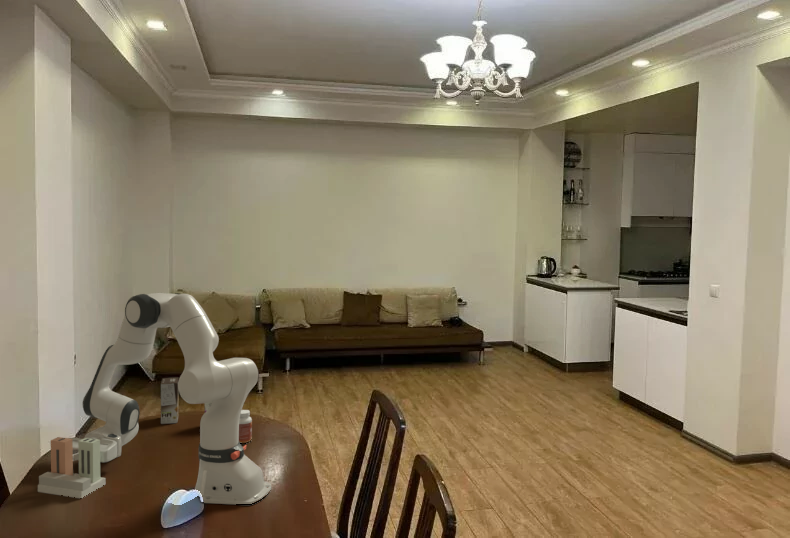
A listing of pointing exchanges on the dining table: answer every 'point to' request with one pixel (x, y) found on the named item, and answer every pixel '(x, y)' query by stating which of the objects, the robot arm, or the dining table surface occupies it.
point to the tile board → (72, 492)
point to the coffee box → (169, 400)
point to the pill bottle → (245, 426)
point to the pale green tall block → (89, 458)
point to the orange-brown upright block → (62, 456)
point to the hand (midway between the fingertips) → (65, 459)
